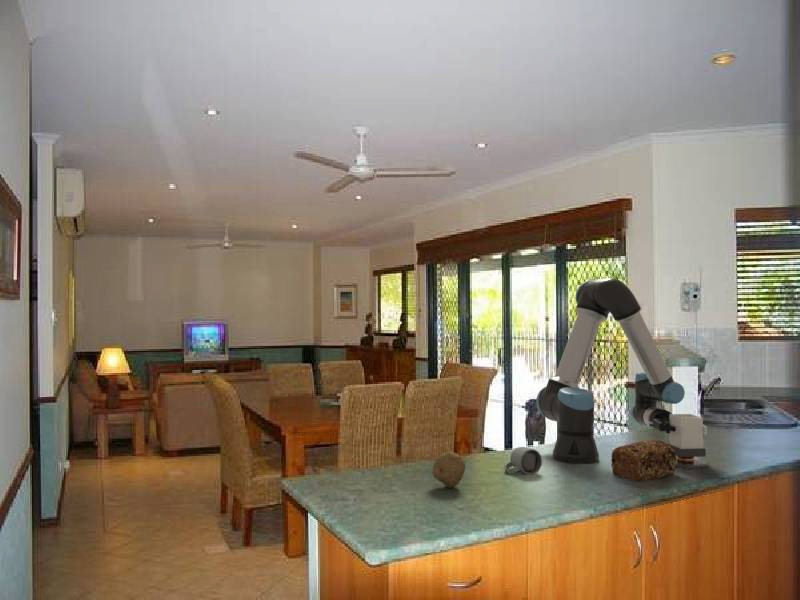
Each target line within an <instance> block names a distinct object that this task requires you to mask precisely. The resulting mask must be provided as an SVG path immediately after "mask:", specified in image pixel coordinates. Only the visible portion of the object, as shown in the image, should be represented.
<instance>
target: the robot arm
mask: <svg viewBox="0 0 800 600" xmlns="http://www.w3.org/2000/svg"><path fill="white" fill-rule="evenodd" d="M575 301H576V306H575V308H574V309H575V312H576V314H577V316H576V319H575V321H574V323H573V326H572V329H571V332H570V335H569V338H568V339H567V343H566V345H565V348H564V350H563V354H562V356H561V358H560V361H559V364H558V367H557V370H556V373H555V375H554V376H552V377H550V378H549V379H548V381H547V384H546V386H544V387H543V388H542V389H540V390H539V391H538V393H537V396H536V400H535V401H536V408H537V410H538V412H539V413H540V414H541V415H542V416H543V417H545V418H546V419H548V420H550V421H554V422H556V423H557V424H558V425H557V428H558V430H557V433H558V434H557V437H556V440H555V444H554V448H553V450H552V459H554V460H555V461H558V462H564V463H567V464H568V463H569V464H593V463H597V462H599V461H600V453H599V451H598V447H597V444H596V440H595V437H594V433H595V431H594V430H595V429H594V428H595V422H594V421H595V398H594V393H593V392H592V391H590V390H588V389H585V388H580V387H579V384H580V383H579V382H580V380H581V377H582V374H583V372H584V369H585V366H586V364H587V361H588V358H589V356H590V353H591V350H592V348H593V346H594V345H593V344H594V342H595V339H596V337H597V334H598V332H599V329H600V326H601V323H603V322H606V321H607V319H608V318H609V314H611V316H612V318H613V320H614V321H615V322H617V323H619V325H620V327H621V329H622V330H623V331H622V332H624V335H625V337H626V338H627V340H628V342H629V344H630V346H631V348H632V350H633V352H634V354H635V355H636V358H637V360H638V362H639V364H640V366H641V367H642V370H643V371H639V372H637V373H635V379H634V393H635V395H634V396H635V398H634V399H635V401H634V404H633V405H632V406H631V409H630V416H631V418H632V420H634V421H635V422H636V423H638V424H640V425H643V426H647V427H649V428H652V429H653V430H654V431H658V432H659V431H660V432H665V434H670V431H671V432H673V433H676V434H679V435H683V427H682V426H679V425H676V424H673V423H671V425H670V423H669V414H672V413H671V412H670V411H669V410H666V409H663V408H659V407H657V405H658V401H659V402H662V403H665V404H671V405H672V404H674V405H675V404H676V405H677V404H680V403H681V402H682V401H683V399H684V398H685V393H686V392H685V387H684V386H683V385H682V384H680V383H678V382H676V381H674V378H673V376H672V374H671V372H670V370H669V369H668V367H667V365H666V362H665V361H664V358H663V357H662V354H661V353H660V351H659V349H658V346H657V344H656V342H655V341H654V338H653V336H652V335H651V332H650V331H649V329H648V327H647V325H646V322H645V321H644V319H643V317H642V315H641V311H642V307H641V305H640V304H639V301H638V299H637V298H636V296H635V295H634V293H633V291H632V290H631V289H630V287H629V286H628V285H626V283H624V282H623V281H622V280H620V279H618V278H614V277H607V278H592V279H588V280H585V281H584V282H583V283H581V284H580V285H579V286H578V288H577V289H576V291H575ZM703 435H704V436H705V435H706V436H707V435H708V426H707V425H704V424H703Z"/></svg>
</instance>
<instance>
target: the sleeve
mask: <svg viewBox="0 0 800 600" xmlns="http://www.w3.org/2000/svg"><path fill="white" fill-rule="evenodd" d="M669 423H670V425H671V423H673V424H676V425H679V426H682V427H683V435H679V434H676V433H673V432H671V431H670V433H669V444H670V445H673V446H675V447H678V448H680V449H702V448H704V445H703V444H704V439H703V438H704V437H703V435H704V434H703V425H704V424H703V423H704V421H703V417H702V416H700V415H695V414H692V413H676V414H675V413H671V414H669Z"/></svg>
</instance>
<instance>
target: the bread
mask: <svg viewBox="0 0 800 600" xmlns="http://www.w3.org/2000/svg"><path fill="white" fill-rule="evenodd" d="M667 444H668V443H666V442H664V441H661V440H657V439H647V440H643V441H637V442H632V443H630V444H629V443H628V444H624V445H621V446H618V447H615V448H614V449H613V450H612V451H611V460H610V461H611V469H612V474H613V475H614V476H618V478H626V479H628V480H630V481H634V482H643V481H649V479H650V480H654V479H658V478H661V477H667V476H670V475H673V474H675V471H676V466H675V464H676V458H677V456H676V452H675V450H674V449H673V448H671V447H670V446H669V445H667Z"/></svg>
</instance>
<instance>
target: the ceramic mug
mask: <svg viewBox="0 0 800 600" xmlns="http://www.w3.org/2000/svg"><path fill="white" fill-rule="evenodd" d="M509 459H510V461H509V462H508V463H506V464H505V465H504V468H503V469H504V472H505V473H506V474H514V473H517V472H521V473H524V474H526V475H528V476H529V475H530V476H531V475H532V476H533V475H535V474H537V473H538V472H539V471H540V469H541V468H542V465H543V458H542V454H541V453H540V452H539V451H538V450H537V449H533V448H530V447H525V446H520V447H519V446H517V447H516V448H514V449H513V450H512V451H511V454H510V457H509Z"/></svg>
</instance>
